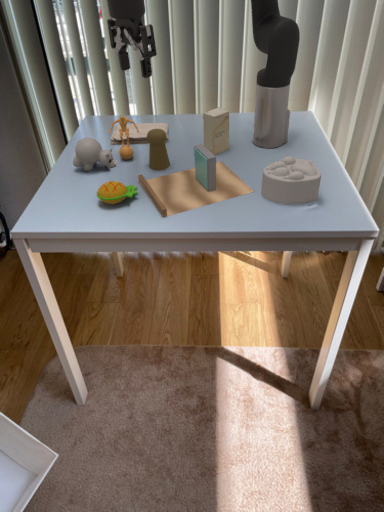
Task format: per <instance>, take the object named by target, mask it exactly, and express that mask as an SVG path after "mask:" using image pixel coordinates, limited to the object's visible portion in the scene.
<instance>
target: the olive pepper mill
mask: <svg viewBox="0 0 384 512" xmlns="http://www.w3.org/2000/svg"><path fill="white" fill-rule="evenodd" d="M167 135H168V134H167ZM167 135H166V133H165V131H164V130H162V129H152V130H150V131H149V132H148V133H147V140H148V142H149V143H150V144H149V150H148V151H149V154H148V156H149V159H148V164H149V165H148V166H149V168H150V170H151V171H152V170H153V171H165V170H167V169H168V168H169V167H170V166H171V162H170V158H169V153H168V149H167V145H166V143H167V142H166V138H167ZM165 142H166V143H165Z"/></svg>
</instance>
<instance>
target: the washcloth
mask: <svg viewBox="0 0 384 512" xmlns="http://www.w3.org/2000/svg"><path fill="white" fill-rule="evenodd" d="M135 124H136V126H137V128H138V130H139V133H137V129H136V128H135V126H134V124H133V123H127V126H126V129H127V128H128V129H129V137H128V138H129V146H130V145H132V146H133V145H150V143H149V142H148V140H147V133H148V132H149V131H150V130H152V129H162V130H164V131H165V133H166V135H167V138H166V142H165V144H166V143H167V142H168V141H169V135H168V134H169V131H170V130H169V124H168V123H166V122H156V123H153V122H145V123H135ZM119 129H122V128H121V126H120V124H119V123H118V124H117V125H116V126H113V132H112V134H111V136H110V141H111V142H110V144H111V145H118V146H119V145H120V146H122V140H121V138H120V131H119ZM122 138H123V140H124V145H127V137H126V135H125V132H123V136H122Z"/></svg>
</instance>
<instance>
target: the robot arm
mask: <svg viewBox="0 0 384 512" xmlns="http://www.w3.org/2000/svg"><path fill="white" fill-rule="evenodd" d="M106 2H107V8H108V13H109V16H110V18H108V19H107V20H106V21H107V29H108V35H109V41H110V42H109V43H110V48H111V49H113V50H114V49H115V52H116V53H117V56H118V61H119V65H120V70H121V71H123V72H125V71H128V70H130V69H131V63H130V57H129V51H128V48H129V46H131V47H132V49H133V51H135V52H136V53H137V56H138V57H139V63H140V70H141V71H140V72H141V77H142V78H144V79H147V78H151V77H152V75H153V69H152V61H151V60H152V58H153V57H156V56H157V54H158V53H157V46H156V39H155V33H154V27H153V25H152V23H150V24H146V25H145V24H144V22H143V19H142V18H143V16H144V15H145V14H146V6H145V5H146V4H145V0H106ZM250 8H251V22H252V23H251V24H252V25H251V26H252V36H253V42H254V45H255V47H256V48H257V49H258V51H260V52H261V53H263V54H265V55H266V62H265V63H266V64H265V67H264V68H261V69H259V71H258V72H257V73H256V82H255V83H256V85H255V102H254V103H255V104H254V105H255V106H254V119H253V121H254V122H253V135H252V137H253V139H252V142H253V144H254V145H256V146H258V147H260V148H264V149H275V148H279V147H281V146H282V145H284V144H285V143H287V142H288V136H289V126H290V117H291V110H290V109H289V101H290V100H289V99H290V90H291V82H292V77H293V75H294V72H295V70H296V66H297V65H296V64H297V60H298V55H299V54H298V53H299V47H300V37H301V36H300V28H299V26H298V23H297V22H296V21H295V20H294V19H292V18H289V17H286V16H282V15H281V12H280V8H279V0H250ZM149 46H150V48H149ZM142 50H143V51H142Z"/></svg>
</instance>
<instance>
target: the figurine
mask: <svg viewBox="0 0 384 512" xmlns="http://www.w3.org/2000/svg"><path fill="white" fill-rule="evenodd" d="M117 123H118V125H119V124H120V126H121V128H122V129H119V131H120V138H121V140H122V145H121V147H120V149H119V151H118V152H119V153H118V154H119V156H120V158H121V159H123V160H130V159H132V158H133V157H134V149H133V148H132V147H131V146H130V145H129V138H128V137H129V129H128V128H127V129H126V126H127V124H128V123H130V124H134V126H135V128H136V129H137V133H139V130H138V128H137V126H136V124H137V123H136V122H135V120H132V119H129V117H126V116H125V115H121V116H120V117H119V118H117V119H116V120H114V121H113V122H112V123H111V126H110V128H109V135H111V136H112V134H111V133H112V130H113V129H114V124H117ZM123 132H125V135H126V137H127V145H124V140H123V138H122V136H123Z"/></svg>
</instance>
